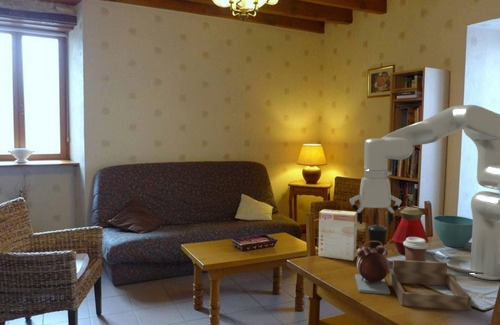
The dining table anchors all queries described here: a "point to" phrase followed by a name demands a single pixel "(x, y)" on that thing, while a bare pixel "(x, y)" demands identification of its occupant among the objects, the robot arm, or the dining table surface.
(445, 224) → the teal bowl
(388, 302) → the dining table surface
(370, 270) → the alarm clock
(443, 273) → the tray
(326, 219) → the coffeecake box
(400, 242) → the red jar
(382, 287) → the slate mat
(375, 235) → the drinking cup
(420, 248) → the coffee cup
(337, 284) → the dining table surface
